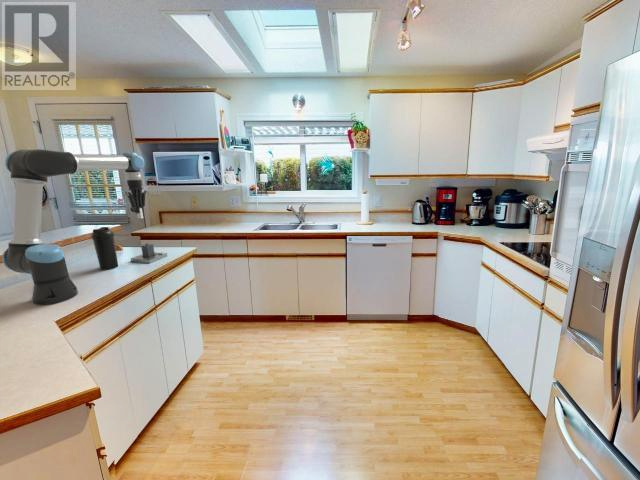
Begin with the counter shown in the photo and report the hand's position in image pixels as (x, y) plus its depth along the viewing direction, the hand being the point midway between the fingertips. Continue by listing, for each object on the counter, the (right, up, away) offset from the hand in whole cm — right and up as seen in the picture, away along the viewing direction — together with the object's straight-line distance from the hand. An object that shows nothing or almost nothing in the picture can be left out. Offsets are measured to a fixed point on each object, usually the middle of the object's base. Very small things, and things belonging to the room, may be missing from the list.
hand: (140, 218), depth 184 cm
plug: (+6, -25, 0) cm, 26 cm away
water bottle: (-9, -29, -15) cm, 34 cm away
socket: (+6, -25, 0) cm, 26 cm away
